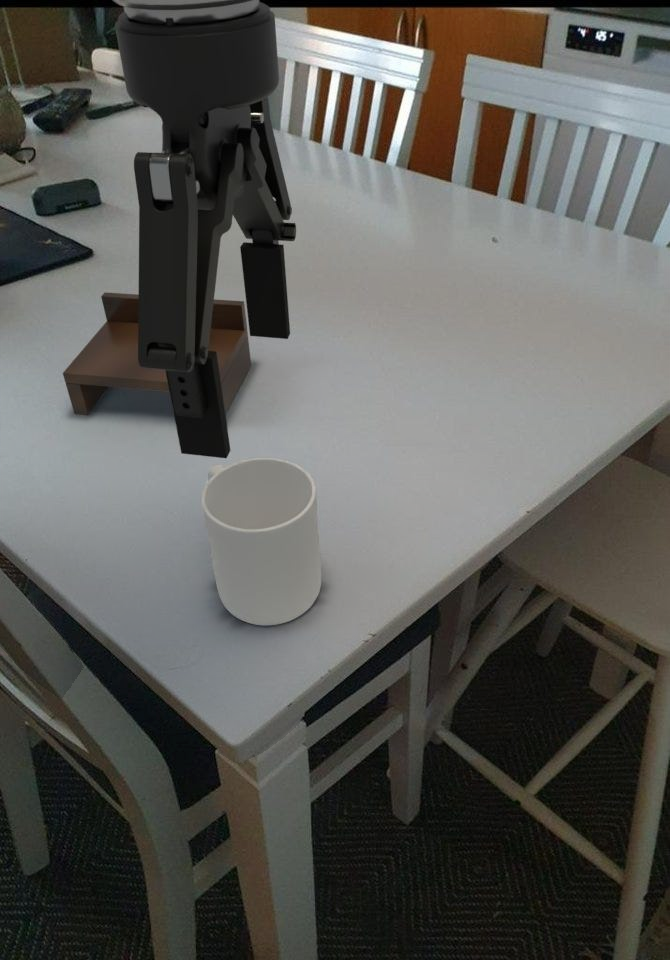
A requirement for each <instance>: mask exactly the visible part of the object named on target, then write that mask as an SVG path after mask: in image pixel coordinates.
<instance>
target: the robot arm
mask: <svg viewBox="0 0 670 960" xmlns="http://www.w3.org/2000/svg"><path fill="white" fill-rule="evenodd" d="M112 2H114V3H115V4H117V5H119V6H121V7H123V11H122V12H121V13H120V14H119V16H118V18H117V21H116V22H115V23H114V28H115V34H116V40H117V44H118V45H117V46H118V51H119V56H120V57H119V58H120V61H121V67H122V73H123V79H124V84H125V90H126V92H127V93H126V94H128V97H129V98H130V99H131V100H132V101H133V102H134V103H136V104H137V105H139V106H141V107H143V108H148V109H151V110H152V111H153V112H155V113H156V114H157V115H158V116H159V117H160V119H161V122H162V125H161V132H162V133H161V135H162V138H161V139H162V143H161V144H162V145H161V152H145V151H144V152H143V151H137V152H136V153H135V155H134V159H133V172H134V179H135V186H136V187H135V188H136V193H137V200H138V220H139V221H138V295H139V302H138V362H139V365H140V366H141V368H148V369H158V370H166V376H167V381H168V386H169V391H170V392H169V397H170V402H171V407H172V411H173V417H174V422H175V427H176V432H177V437H178V442H179V448H180V449H179V450H180V453H181V454H183V455H190V456H191V455H192V456H201V457H208V458H209V457H210V458H218V459H227V458H228V456H229V454H230V452H231V443H230V436H229V429H228V423H227V422H228V421H227V416H226V415H227V414H226V415H225V408H224V401H223V394H222V387H221V380H220V373H219V366H218V359H217V352H216V351H208V347H209V339H210V330H211V321H212V312H213V303H214V299H215V293H216V284H217V276H218V266H219V257H220V247H221V239H222V237H223V235H224V234H226V233H228V232H229V231H230V229H231V228H232V225H233V217H234V219H235V222H236V223H237V225H238V227H239V229H240V230H241V232H242V233H243V236H244V237H245V239H248V240H252V241H251V242H247V241H245V242H242V244H241V245H240V246H239V248H240V257H241V266H242V276H243V285H244V293H245V303H246V309H247V310H246V313H247V321H248V330H249V337H258V338H269V339H270V338H271V339H280V340H281V339H282V340H288V339H289V337H290V335H291V327H290V326H291V324H290V314H289V299H288V284H287V272H286V262H285V248H284V247H285V246H284V244H280V243H279V241H280V242H281V241H282V242H295V240H296V236H297V224H296V222H284V221H290V219H291V215H292V213H293V208H292V205H291V199H290V196H289V191H288V188H287V187H288V186H287V183H286V179H285V175H284V171H283V166H282V162H281V158H280V154H279V150H278V145H277V140H276V137H275V133H274V129H273V124H272V120H271V113H270V103H269V96H271V95H273V93H274V92H275V91H276V89H277V87H278V85H279V83H280V82H279V81H280V73H279V57H278V44H277V30H276V16H275V13H274V12H273V11H272V10H271V8H270V6H269V5H267V4H265V3H264V2H261V1H260V0H112Z"/></svg>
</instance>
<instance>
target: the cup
mask: <svg viewBox="0 0 670 960" xmlns="http://www.w3.org/2000/svg"><path fill="white" fill-rule="evenodd" d="M200 499H201V500H200V501H201V508H202V512H203V519H204V523H205V524H204V525H205V529H206V530H205V531H206V535H207V541H208V546H209V552H210V556H211V562H212V567H213V573H214V579H215V583H216V589H217V593H218V596H219V598H220V601H221V603H222V605H223V606H224V608H225V609H226V610H227V611H228V612H229V613H230V614H231V615H232V616H234V617H235V618H237V619H238V620H240V621H243V622H245V623H247V624H251V625H256V626H277V625H281V624H285V623H288V622H291V621H293V620H295V619H297V618H300V616H303V614H305V613H306V612H307V611H308V610H309V609H310V608H311V607H312V606H313V604H314V603H315V602H316V600H317V598H318V597H319V595H320V591H321V586H322V563H321V562H322V561H321V548H320V547H321V546H320V532H319V531H320V530H319V515H318V500H317V487H316V484H315V481H314V479H313V478H312V475H310V473H309V472H308V471H306V469H305V468H303V467H302V466H300V465H298V464H297V463H295V462H292V461H289V460H286V459H281V458H275V457H254V458H253V457H252V458H249V459H243V460H239V461H237V462H234V463H231V464H229V465H227V466H224V465H221V464H215V465H213V466H212V467H210V468H209V470H208V472H207V482H206V484H205V485H204V487H203V490H202V493H201V498H200Z"/></svg>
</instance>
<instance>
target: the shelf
mask: <svg viewBox="0 0 670 960" xmlns="http://www.w3.org/2000/svg"><path fill="white" fill-rule="evenodd" d="M100 297H101V302H102V306H103V310H104V315H105V319H106V322H105V323H104V324H103V325H102V326H101V327H100V328H99V330H97V332H96V333H95V334H94V335H93V337H92V338H91V339H90V340H89V342H88V343H87V344H86V345H85V346H84V347H83V348H82V350H81V351H80V352H79V353H78V354H77V356H76V357H75V358H74V359H73V360H72V361H71V363H70V364H69V365H68V366H67V368H65V370H64V371H63V372H62V376H63V379H64V383H65V386H66V390H67V393H68V398H69V400H70V403H71V407H72V411H73V414H76V415H85V416H86V415H87V416H88V415H89V414H90V413H91V412H92V411H93V409H94V408H95V406H96V405H97V404H98V402H99V401H100V400H101V399H102V398H103V396H104V394H105V393H106V392H107V390H108V389H109V388H121V389H132V390H144V391H155V392H167V393H170V391H169V386H168V381H167V376H166V370H158V369H148V368H141V366H140V365H139V362H138V302H139V293H137V294H136V293H122V292H121V293H120V292H104V293H102V295H100ZM246 315H247V314H246V306H245V301H244V300H230V299H216V298H214V303H213V312H212V321H211V330H210V339H209V347H208V351H216V352H217V359H218V366H219V373H220V380H221V387H222V394H223V401H224V408H225V415H227V414H228V411H229V409H230V407H231V405H232V404H233V401H234V400H235V398H236V395H237V394H238V392H239V390H240V388H241V387H242V384H243V382H244V380H245V379H246V377H247V375H248V372H249V371H250V369H251V367H252V360H251V358H252V357H251V350H250V342H249V332H248V323H247V316H246Z"/></svg>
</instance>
